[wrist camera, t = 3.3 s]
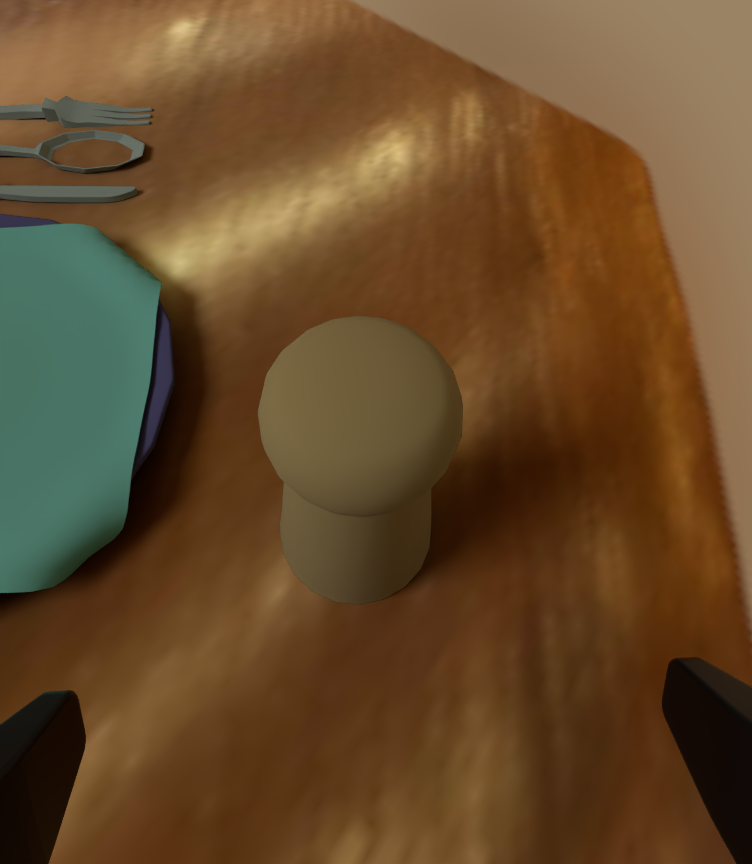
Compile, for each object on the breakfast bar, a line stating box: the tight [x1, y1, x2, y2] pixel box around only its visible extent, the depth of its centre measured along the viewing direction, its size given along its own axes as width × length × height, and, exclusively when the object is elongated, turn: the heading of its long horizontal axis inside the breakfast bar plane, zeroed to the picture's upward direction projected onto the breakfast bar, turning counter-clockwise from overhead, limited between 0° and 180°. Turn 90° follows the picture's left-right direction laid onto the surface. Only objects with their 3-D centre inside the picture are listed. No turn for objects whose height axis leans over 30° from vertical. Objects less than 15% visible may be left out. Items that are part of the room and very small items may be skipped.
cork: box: [258, 316, 463, 604], centre depth 18 cm, size 6×6×11 cm
